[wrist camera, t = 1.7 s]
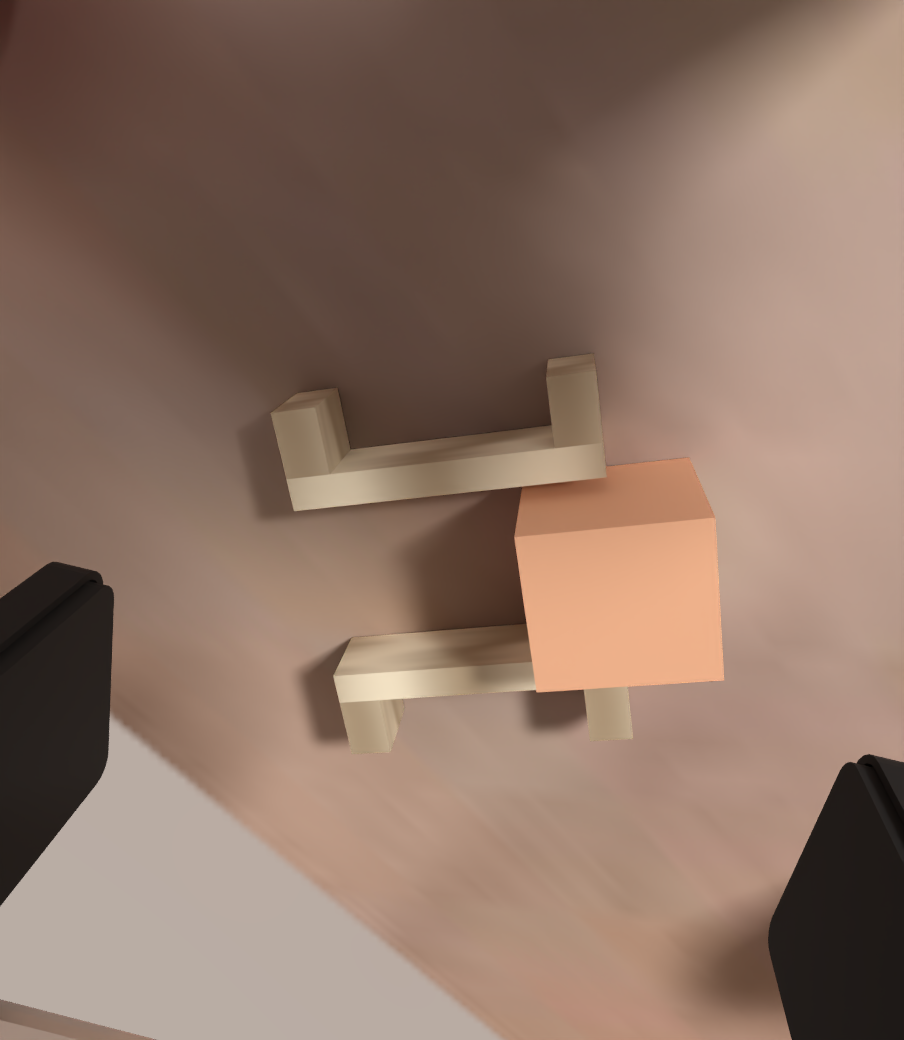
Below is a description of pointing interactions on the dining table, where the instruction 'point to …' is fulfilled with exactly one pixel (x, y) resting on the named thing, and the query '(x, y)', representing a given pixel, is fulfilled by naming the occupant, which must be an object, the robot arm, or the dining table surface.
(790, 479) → the dining table surface
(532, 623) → the block
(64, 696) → the robot arm
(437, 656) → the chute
